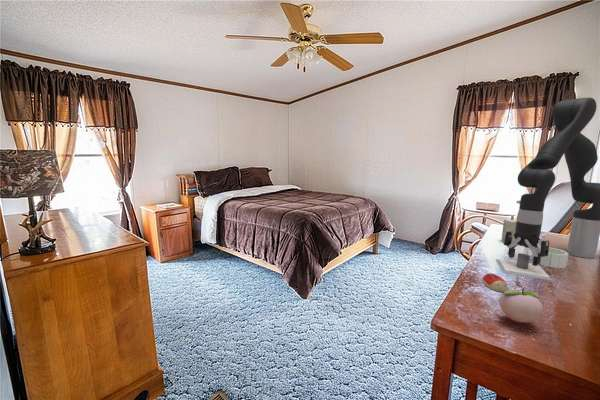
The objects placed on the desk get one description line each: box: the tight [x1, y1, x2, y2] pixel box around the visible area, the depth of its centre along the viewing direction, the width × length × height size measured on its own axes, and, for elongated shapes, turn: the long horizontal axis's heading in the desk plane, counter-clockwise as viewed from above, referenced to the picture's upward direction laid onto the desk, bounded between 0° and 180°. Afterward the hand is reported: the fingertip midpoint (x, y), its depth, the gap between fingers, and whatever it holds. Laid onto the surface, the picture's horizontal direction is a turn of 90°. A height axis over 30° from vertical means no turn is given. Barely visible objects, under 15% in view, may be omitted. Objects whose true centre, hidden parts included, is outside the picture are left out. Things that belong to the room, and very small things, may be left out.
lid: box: [498, 252, 551, 280], centre depth 106 cm, size 13×13×6 cm
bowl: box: [539, 246, 570, 269], centre depth 112 cm, size 10×10×6 cm
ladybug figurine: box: [481, 272, 509, 293], centre depth 94 cm, size 7×10×4 cm
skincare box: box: [500, 218, 517, 244], centre depth 138 cm, size 6×4×12 cm
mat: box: [494, 258, 554, 282], centre depth 107 cm, size 15×15×1 cm
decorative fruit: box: [498, 287, 544, 323], centre depth 72 cm, size 9×8×10 cm
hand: (522, 261), depth 106 cm, fingers open, 8 cm apart
